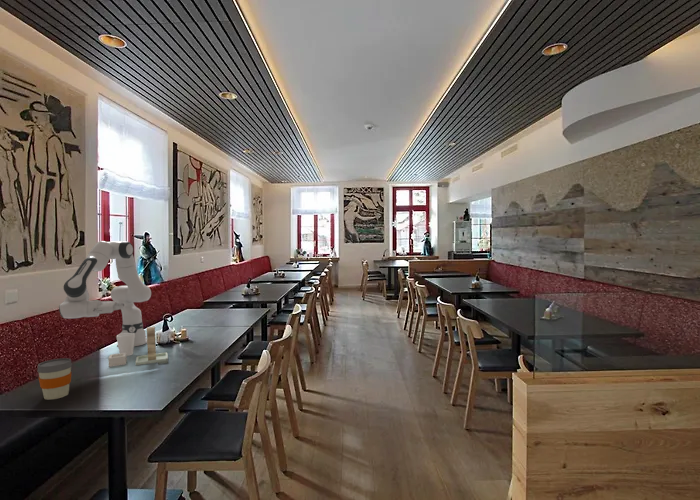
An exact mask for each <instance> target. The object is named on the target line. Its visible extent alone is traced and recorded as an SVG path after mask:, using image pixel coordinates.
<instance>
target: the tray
mask: <svg viewBox="0 0 700 500" xmlns="http://www.w3.org/2000/svg"><path fill="white" fill-rule="evenodd" d="M168 354H169V353H168V352H167V351H166V352H159V353H156V360H148V354H144V355H142V354H141V355H136V358H135V366H143V365H149V364H156V363H157V364H158V365H161V364H163V365H164V364H169V356H168Z"/></svg>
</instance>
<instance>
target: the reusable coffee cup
mask: <svg viewBox="0 0 700 500" xmlns="http://www.w3.org/2000/svg"><path fill="white" fill-rule="evenodd" d="M72 366H73V364H72V359H71V358H67V357H65V358H62V357H60V358H53V359H49V360H46V361H43V362H42V361H41V362H40V363H38V364H37V371H36V372H37V373H38V382H39V387H40V388H41V391H42V395H43V398H44V400H57V399H60V398H61V399H62V398H64V397H66V396H68V395H69V392H70V384H71V382H72V371H71V370H72Z"/></svg>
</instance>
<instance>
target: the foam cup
mask: <svg viewBox="0 0 700 500" xmlns="http://www.w3.org/2000/svg"><path fill="white" fill-rule="evenodd" d="M134 338H135V333H123V334H120V333H119V334H117V335H116V340H117V341H116V342H117V345H118V346H117V347H118V351H119V354H120V353H126V354H127V357H131V356H132V355H133V354H134V348H135V346H134Z"/></svg>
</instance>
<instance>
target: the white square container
mask: <svg viewBox="0 0 700 500" xmlns="http://www.w3.org/2000/svg"><path fill="white" fill-rule="evenodd" d="M107 360H108V367H117V366H123V365H124V366H125V365H127V361H128V356H127V354H126V353H120V352H119V353H113V354H109V356H108V359H107Z"/></svg>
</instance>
